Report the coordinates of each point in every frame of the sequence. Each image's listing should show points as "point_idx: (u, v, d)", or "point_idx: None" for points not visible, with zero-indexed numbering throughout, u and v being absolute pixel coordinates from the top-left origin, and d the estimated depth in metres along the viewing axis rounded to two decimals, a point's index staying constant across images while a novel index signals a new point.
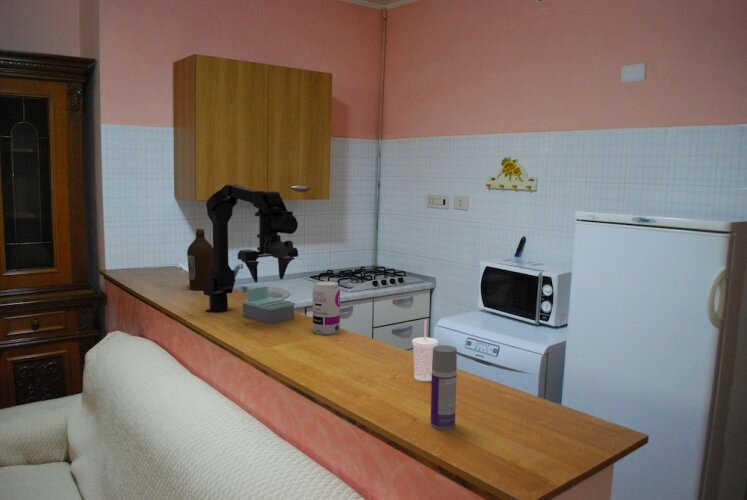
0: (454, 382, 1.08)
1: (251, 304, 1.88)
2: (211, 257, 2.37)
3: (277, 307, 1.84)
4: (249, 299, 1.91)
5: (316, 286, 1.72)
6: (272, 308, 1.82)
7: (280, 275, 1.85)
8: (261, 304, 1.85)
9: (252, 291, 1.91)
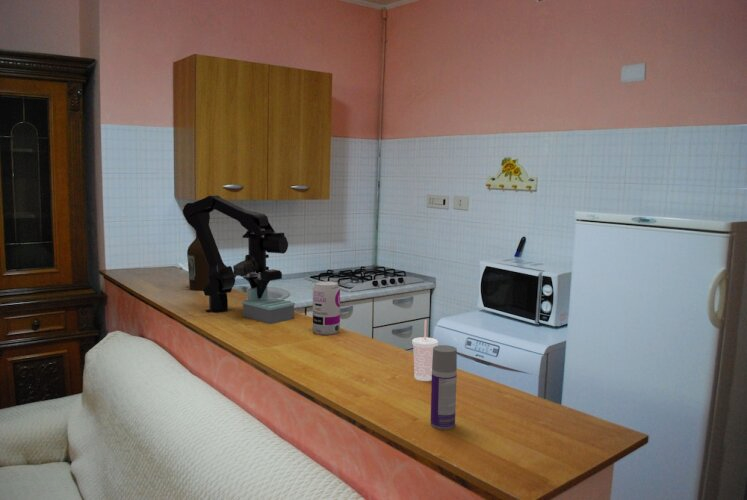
0: (454, 382, 1.08)
1: (251, 304, 1.88)
2: None
3: (277, 307, 1.84)
4: (249, 299, 1.91)
5: (316, 286, 1.72)
6: (272, 308, 1.82)
7: None
8: (261, 304, 1.85)
9: (252, 291, 1.91)
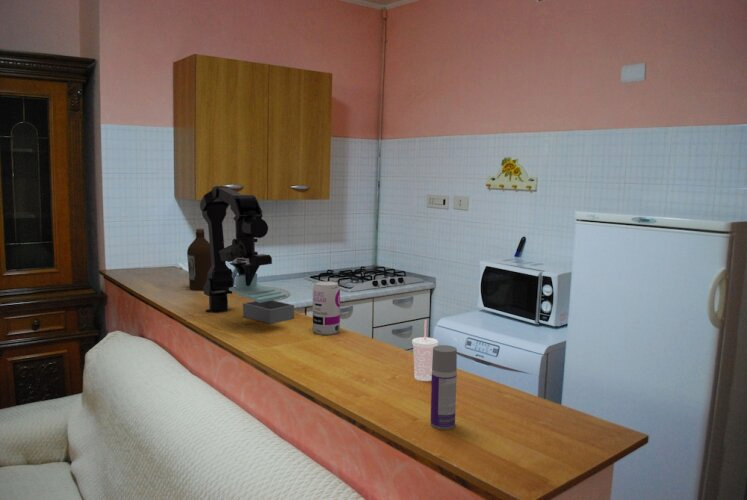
0: (454, 382, 1.08)
1: (239, 293, 1.75)
2: None
3: (267, 299, 1.71)
4: (237, 286, 1.78)
5: (316, 286, 1.72)
6: (261, 300, 1.70)
7: None
8: (250, 294, 1.72)
9: (241, 279, 1.78)
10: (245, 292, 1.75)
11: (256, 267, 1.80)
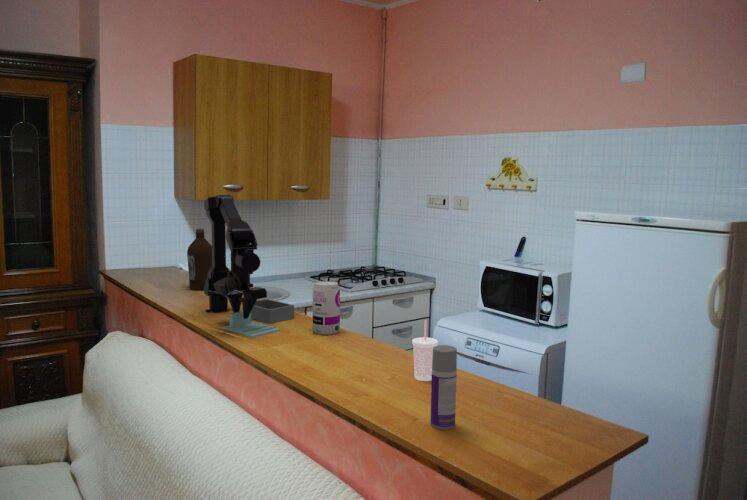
0: (454, 382, 1.08)
1: (232, 331, 1.73)
2: (211, 257, 2.37)
3: (260, 334, 1.69)
4: (231, 325, 1.76)
5: (316, 286, 1.72)
6: (255, 336, 1.67)
7: None
8: (243, 331, 1.70)
9: (234, 317, 1.76)
10: (239, 330, 1.73)
11: (254, 300, 1.76)
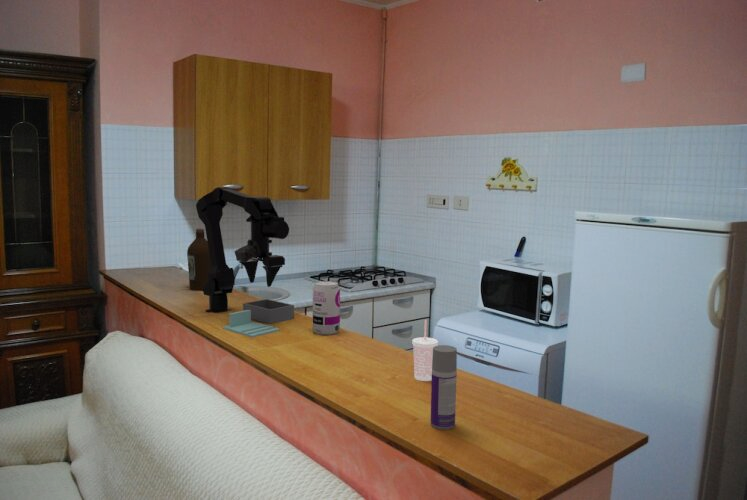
0: (454, 382, 1.08)
1: (232, 330, 1.73)
2: None
3: (260, 334, 1.69)
4: (230, 325, 1.76)
5: (316, 286, 1.72)
6: (254, 336, 1.67)
7: None
8: (243, 331, 1.70)
9: (234, 316, 1.76)
10: (238, 329, 1.73)
11: (277, 269, 1.83)
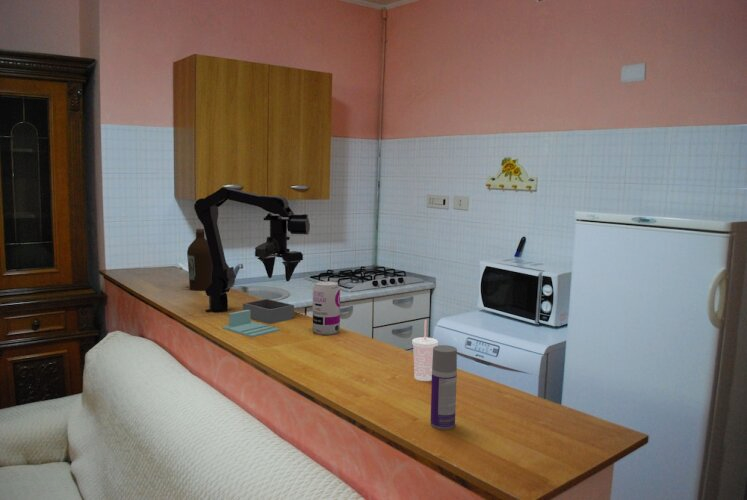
0: (454, 382, 1.08)
1: (232, 330, 1.73)
2: None
3: (260, 334, 1.69)
4: (230, 324, 1.76)
5: (316, 286, 1.72)
6: (254, 336, 1.68)
7: None
8: (242, 331, 1.70)
9: (233, 316, 1.76)
10: (238, 329, 1.73)
11: (295, 264, 1.93)
